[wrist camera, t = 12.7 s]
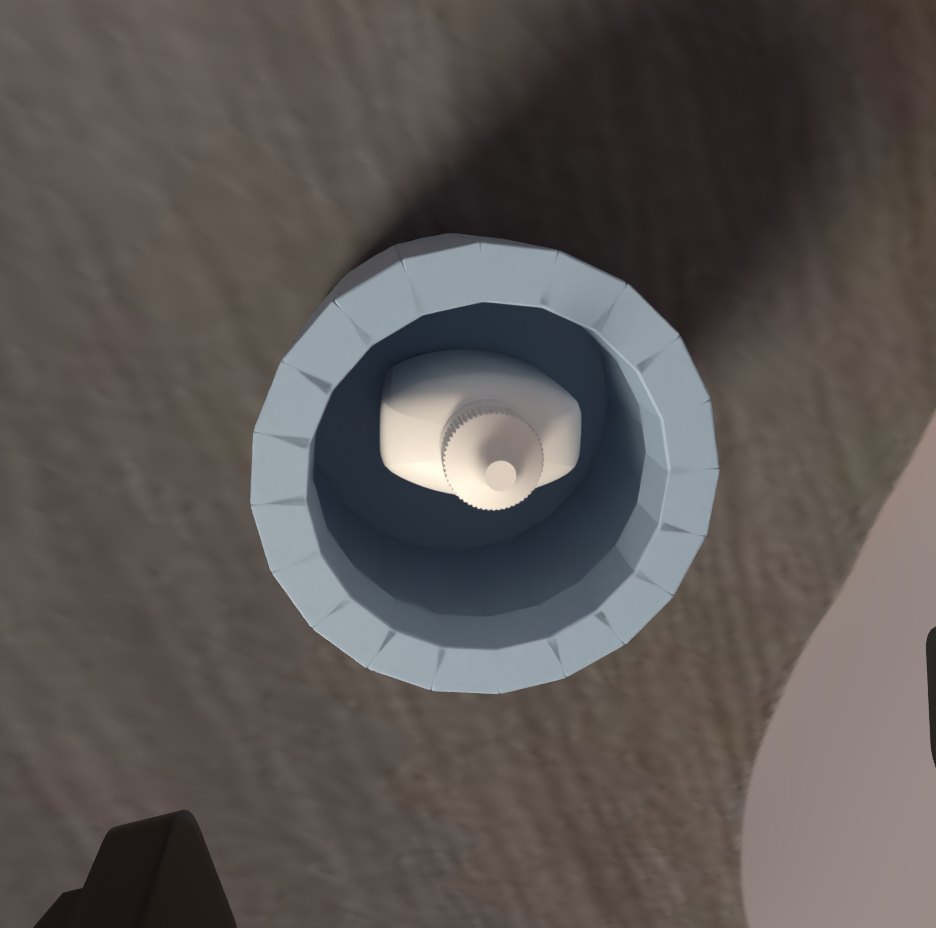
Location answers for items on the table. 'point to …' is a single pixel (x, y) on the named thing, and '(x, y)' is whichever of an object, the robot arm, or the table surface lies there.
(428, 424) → the eye dropper bottle
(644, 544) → the blue-grey pot
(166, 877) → the robot arm
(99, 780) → the table surface
